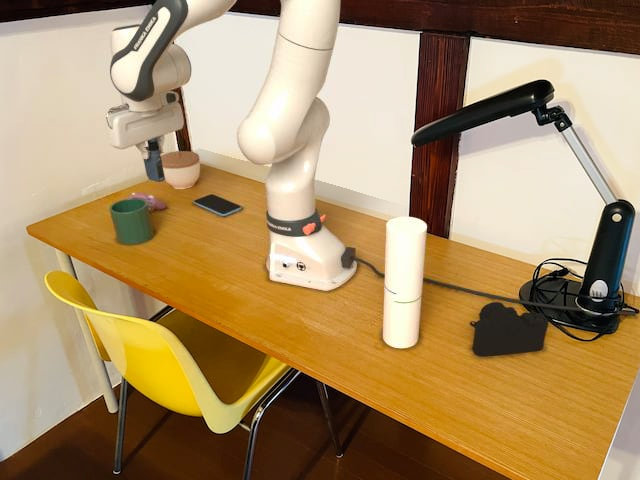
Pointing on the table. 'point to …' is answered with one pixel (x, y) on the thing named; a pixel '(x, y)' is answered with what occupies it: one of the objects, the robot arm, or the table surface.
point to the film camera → (508, 331)
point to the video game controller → (150, 201)
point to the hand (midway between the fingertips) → (153, 155)
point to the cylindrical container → (403, 280)
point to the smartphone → (217, 205)
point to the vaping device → (154, 162)
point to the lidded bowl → (181, 168)
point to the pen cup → (132, 221)
